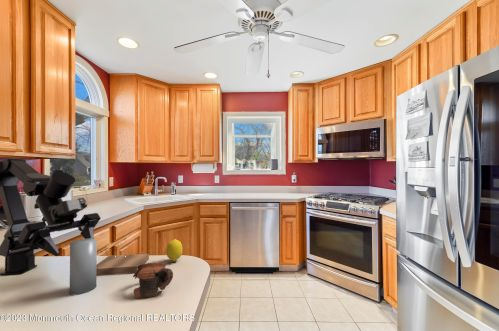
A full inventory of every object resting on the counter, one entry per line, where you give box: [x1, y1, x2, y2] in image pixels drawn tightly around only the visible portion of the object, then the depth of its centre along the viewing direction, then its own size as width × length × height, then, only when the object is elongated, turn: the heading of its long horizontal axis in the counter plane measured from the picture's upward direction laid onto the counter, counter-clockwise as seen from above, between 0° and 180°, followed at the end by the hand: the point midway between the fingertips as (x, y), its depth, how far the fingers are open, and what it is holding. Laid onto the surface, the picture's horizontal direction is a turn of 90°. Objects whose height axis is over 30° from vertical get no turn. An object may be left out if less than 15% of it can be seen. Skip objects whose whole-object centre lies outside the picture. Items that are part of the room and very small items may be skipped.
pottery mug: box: [132, 262, 174, 299], centre depth 63 cm, size 12×9×8 cm
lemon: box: [165, 238, 183, 262], centre depth 84 cm, size 6×6×8 cm
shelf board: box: [96, 253, 150, 276], centre depth 79 cm, size 14×12×2 cm
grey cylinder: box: [69, 237, 98, 296], centre depth 64 cm, size 6×6×13 cm
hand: (76, 249), depth 66 cm, fingers open, 9 cm apart
